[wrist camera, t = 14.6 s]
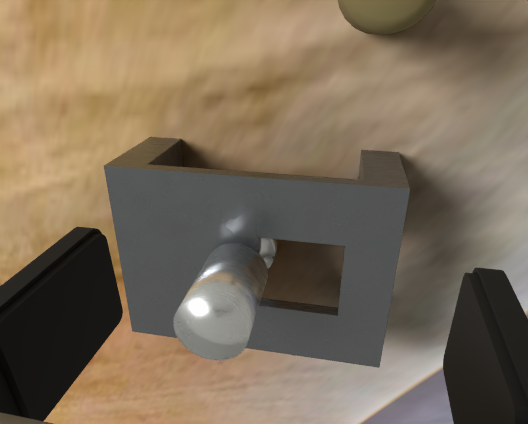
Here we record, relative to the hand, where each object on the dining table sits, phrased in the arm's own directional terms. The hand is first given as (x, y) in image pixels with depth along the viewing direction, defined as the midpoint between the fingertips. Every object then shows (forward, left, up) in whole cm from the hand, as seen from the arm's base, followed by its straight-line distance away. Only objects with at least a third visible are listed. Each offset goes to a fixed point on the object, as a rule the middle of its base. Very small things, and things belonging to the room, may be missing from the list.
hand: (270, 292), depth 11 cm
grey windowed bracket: (+5, +12, -26) cm, 29 cm away
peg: (+6, +12, -22) cm, 26 cm away
